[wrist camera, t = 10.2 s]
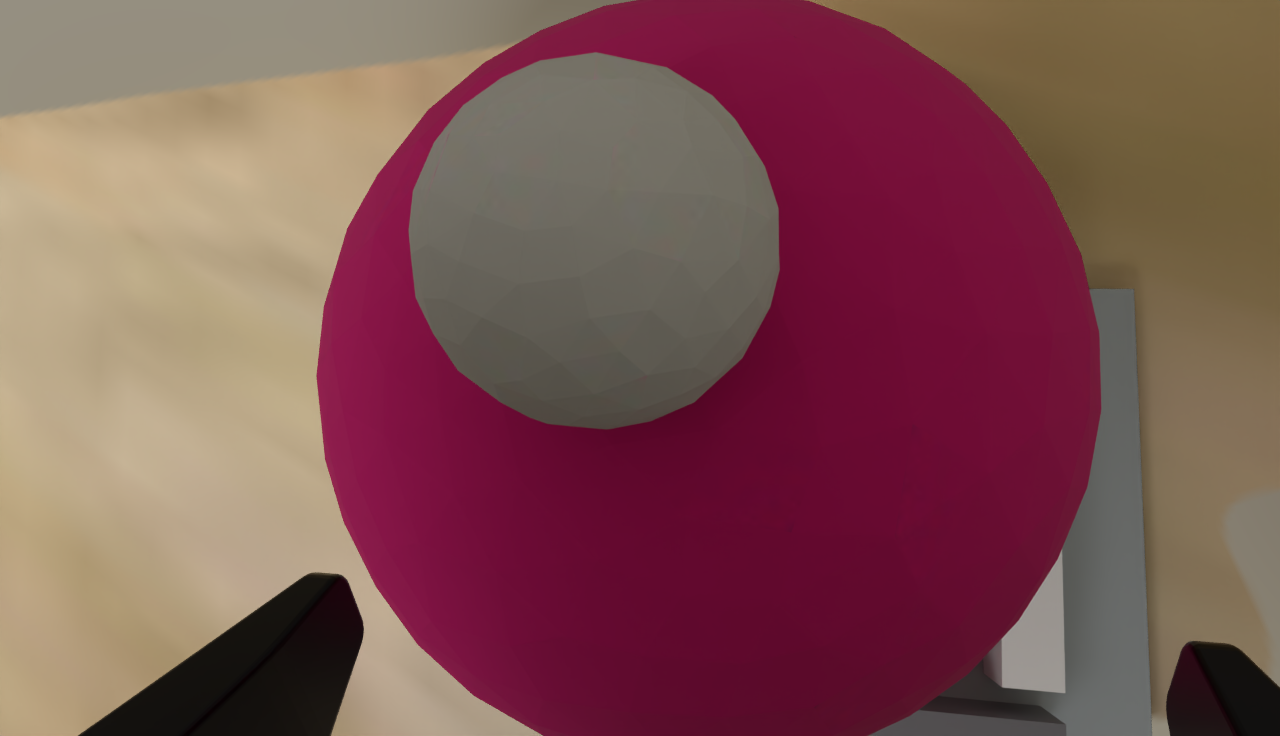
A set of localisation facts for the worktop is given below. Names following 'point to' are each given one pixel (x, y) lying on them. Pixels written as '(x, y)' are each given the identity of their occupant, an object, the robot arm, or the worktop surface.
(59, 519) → the worktop surface
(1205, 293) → the worktop surface
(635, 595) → the pepper mill
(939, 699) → the rail dock
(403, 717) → the worktop surface
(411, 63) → the worktop surface
